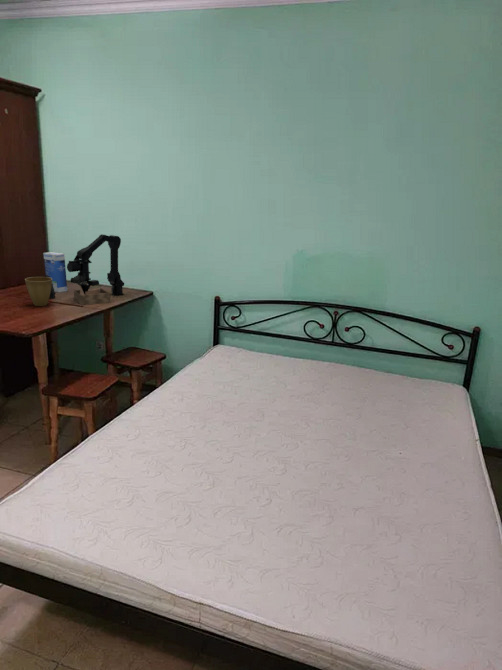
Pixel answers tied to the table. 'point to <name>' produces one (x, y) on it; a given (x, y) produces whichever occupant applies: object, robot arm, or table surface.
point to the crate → (92, 297)
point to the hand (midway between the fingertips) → (85, 294)
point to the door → (93, 292)
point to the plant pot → (39, 289)
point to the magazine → (52, 293)
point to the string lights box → (56, 270)
